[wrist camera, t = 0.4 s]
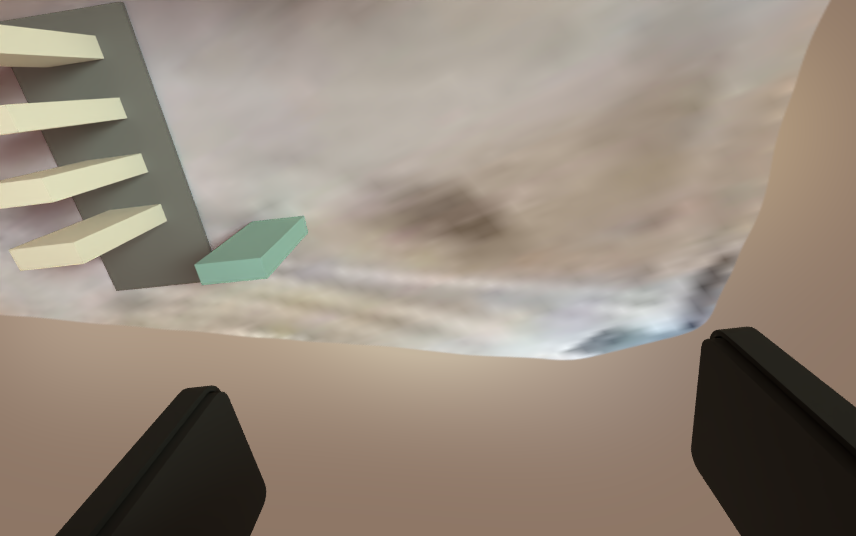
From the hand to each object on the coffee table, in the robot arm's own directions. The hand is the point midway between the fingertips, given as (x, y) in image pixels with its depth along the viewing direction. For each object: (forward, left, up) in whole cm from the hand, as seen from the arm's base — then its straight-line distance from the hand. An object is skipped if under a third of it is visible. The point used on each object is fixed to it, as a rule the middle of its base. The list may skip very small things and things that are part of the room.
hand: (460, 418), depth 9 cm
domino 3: (-2, -32, -34) cm, 47 cm away
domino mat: (-2, -32, -35) cm, 47 cm away
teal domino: (+6, -18, -35) cm, 39 cm away
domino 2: (-7, -32, -34) cm, 47 cm away
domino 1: (-12, -32, -34) cm, 48 cm away
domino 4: (+3, -32, -34) cm, 47 cm away
